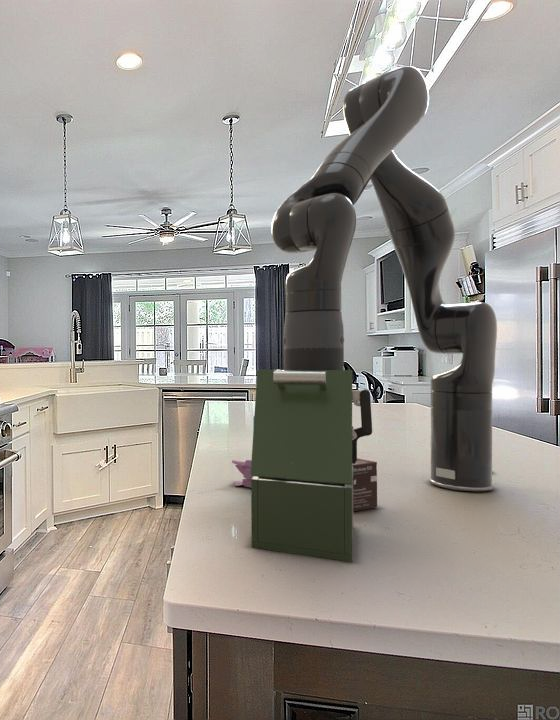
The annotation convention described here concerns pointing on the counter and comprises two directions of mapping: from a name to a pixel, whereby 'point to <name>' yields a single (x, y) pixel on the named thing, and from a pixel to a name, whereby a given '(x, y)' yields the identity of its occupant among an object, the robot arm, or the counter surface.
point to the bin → (302, 517)
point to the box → (364, 484)
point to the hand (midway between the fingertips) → (313, 464)
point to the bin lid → (303, 426)
